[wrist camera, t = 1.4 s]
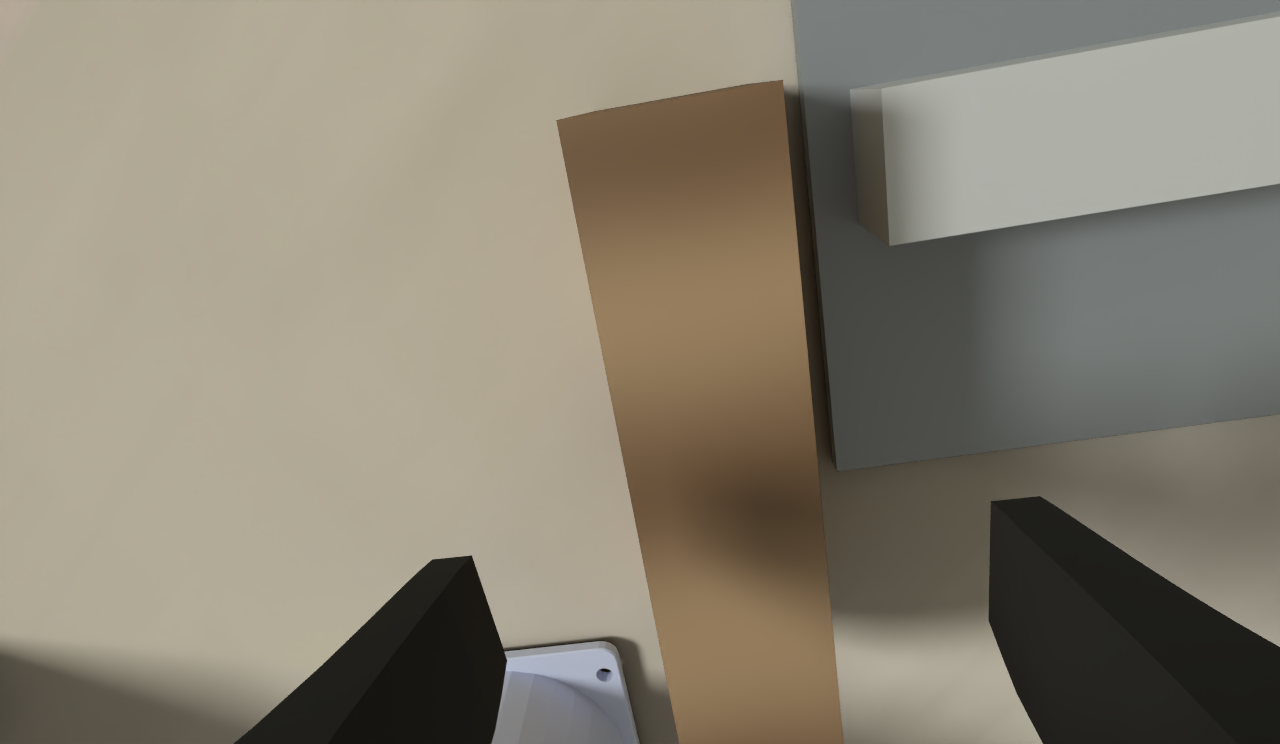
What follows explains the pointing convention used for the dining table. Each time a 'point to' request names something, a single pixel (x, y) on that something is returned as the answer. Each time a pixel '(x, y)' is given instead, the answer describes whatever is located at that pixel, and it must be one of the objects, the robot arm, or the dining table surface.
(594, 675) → the robot arm
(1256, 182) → the fulcrum
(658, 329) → the walnut bar
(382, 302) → the dining table surface
